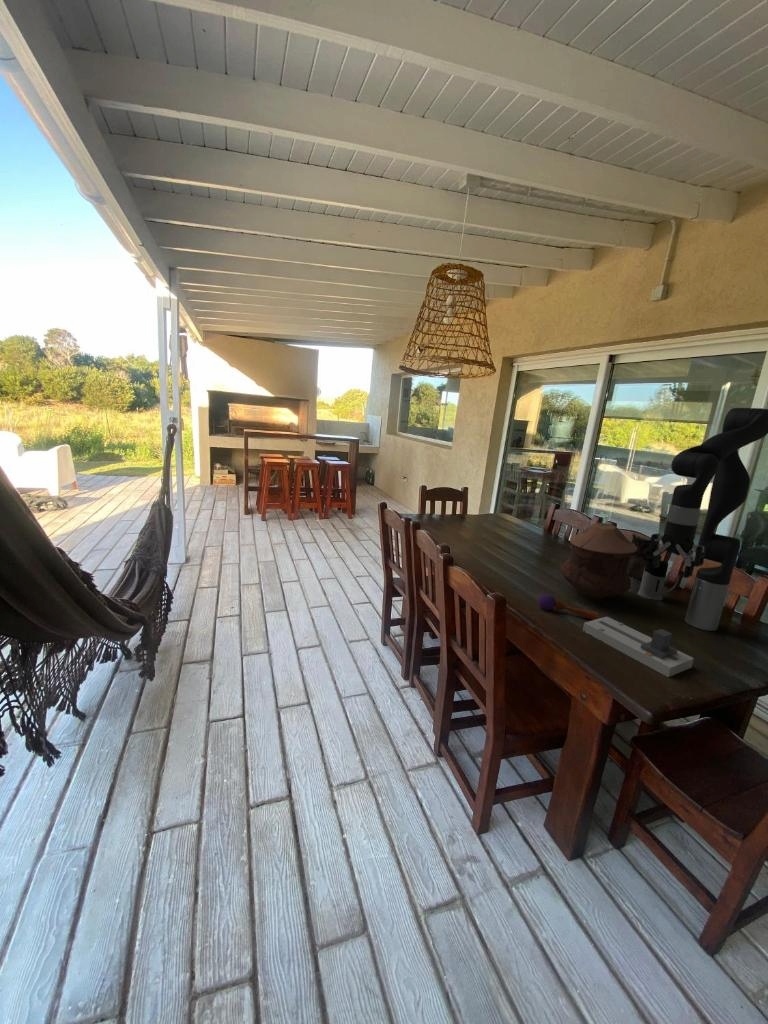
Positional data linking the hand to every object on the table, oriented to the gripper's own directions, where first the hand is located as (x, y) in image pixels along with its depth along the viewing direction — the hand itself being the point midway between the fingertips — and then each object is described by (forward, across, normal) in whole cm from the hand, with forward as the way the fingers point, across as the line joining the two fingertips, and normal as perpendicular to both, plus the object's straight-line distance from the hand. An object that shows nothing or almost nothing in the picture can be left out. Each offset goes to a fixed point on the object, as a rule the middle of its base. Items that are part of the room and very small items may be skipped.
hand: (670, 572), depth 123 cm
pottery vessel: (+26, +33, -16) cm, 45 cm away
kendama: (+25, +26, +9) cm, 37 cm away
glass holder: (+26, +21, -39) cm, 52 cm away
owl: (+27, +37, -59) cm, 74 cm away
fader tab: (+21, -5, +9) cm, 24 cm away
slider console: (+25, +2, +9) cm, 26 cm away
